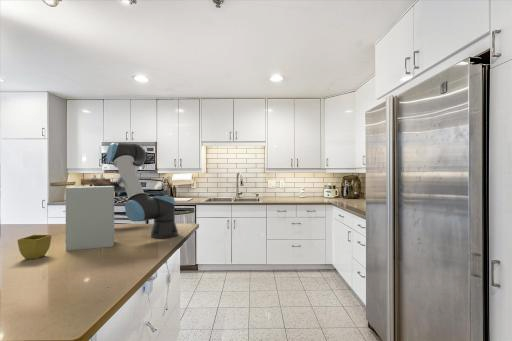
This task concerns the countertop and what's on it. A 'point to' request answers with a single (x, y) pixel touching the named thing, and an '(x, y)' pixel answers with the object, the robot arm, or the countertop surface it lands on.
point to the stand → (89, 217)
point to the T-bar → (95, 181)
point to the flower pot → (34, 246)
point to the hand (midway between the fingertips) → (97, 176)
